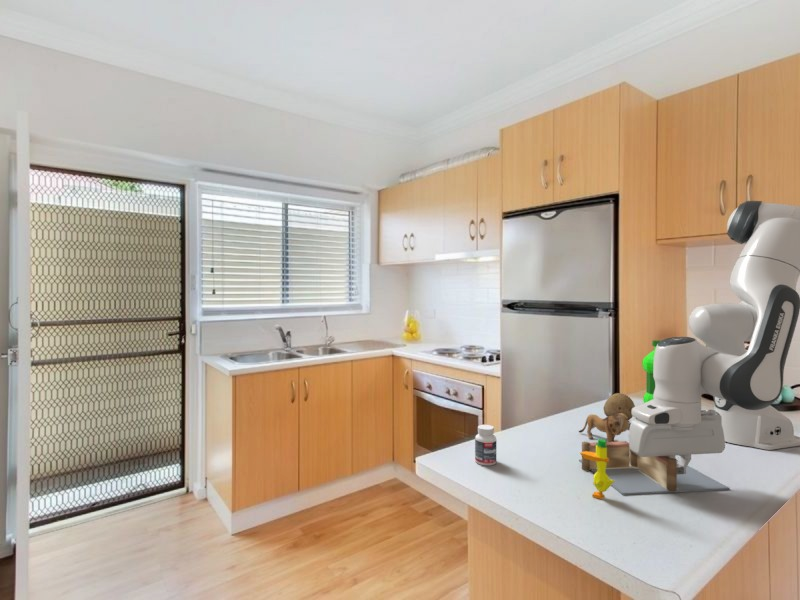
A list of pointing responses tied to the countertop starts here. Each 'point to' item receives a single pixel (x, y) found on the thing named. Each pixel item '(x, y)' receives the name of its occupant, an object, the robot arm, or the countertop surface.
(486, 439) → the pill bottle
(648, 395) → the plastic bottle
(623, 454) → the fence section
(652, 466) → the fence panel
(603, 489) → the toy figure
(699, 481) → the board
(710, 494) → the countertop surface
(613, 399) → the natural sponge
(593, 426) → the lion figurine
